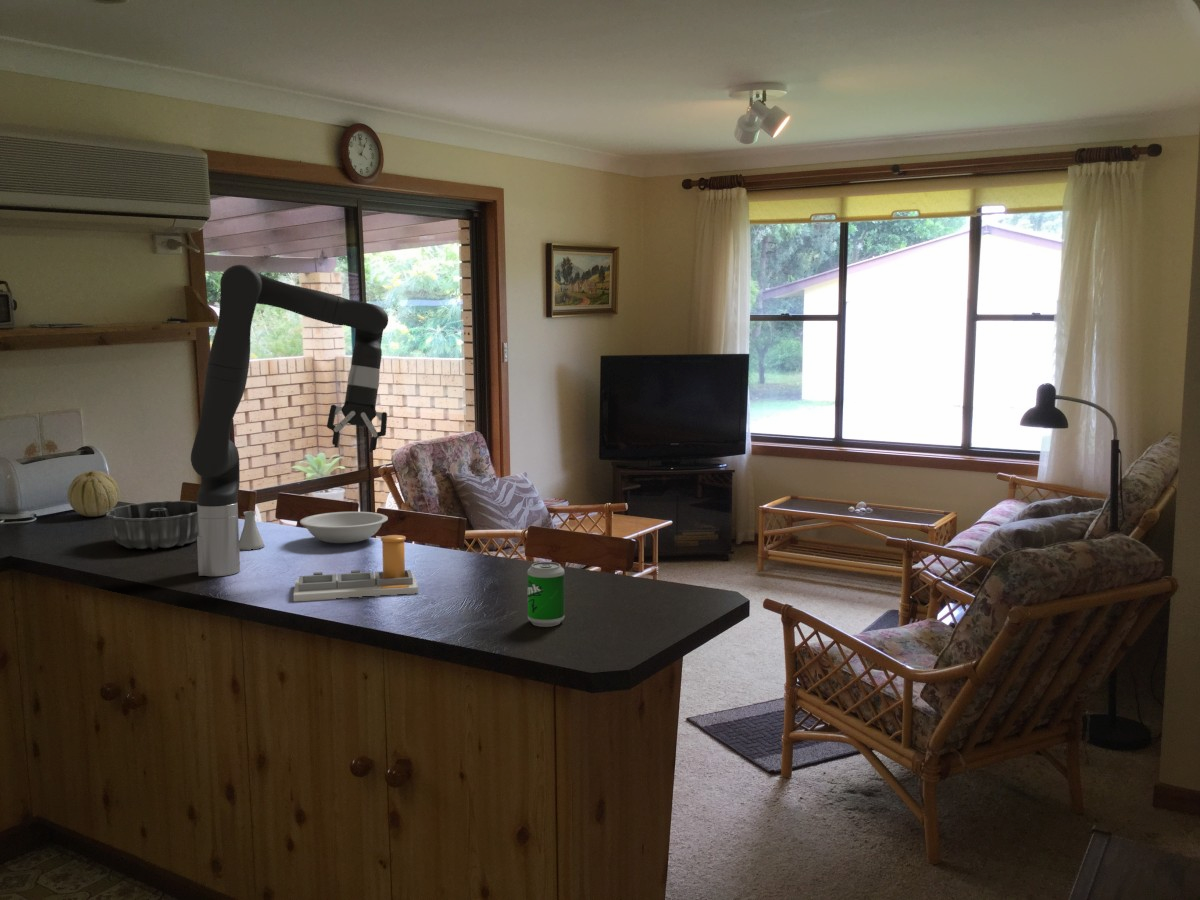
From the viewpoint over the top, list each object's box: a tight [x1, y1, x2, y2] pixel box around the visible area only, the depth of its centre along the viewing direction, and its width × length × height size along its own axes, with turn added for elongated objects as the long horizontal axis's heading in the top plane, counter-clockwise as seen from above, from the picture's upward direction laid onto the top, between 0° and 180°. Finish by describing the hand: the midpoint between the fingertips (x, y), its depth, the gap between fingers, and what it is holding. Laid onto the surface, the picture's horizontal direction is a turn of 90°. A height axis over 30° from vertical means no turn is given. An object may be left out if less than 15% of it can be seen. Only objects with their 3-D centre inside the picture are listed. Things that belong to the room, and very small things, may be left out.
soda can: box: [526, 561, 566, 628], centre depth 201 cm, size 8×8×12 cm
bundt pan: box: [105, 500, 198, 551], centre depth 275 cm, size 26×26×10 cm
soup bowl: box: [299, 511, 389, 544], centre depth 279 cm, size 24×24×7 cm
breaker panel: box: [293, 569, 419, 602], centre depth 227 cm, size 27×14×3 cm, turn 105°
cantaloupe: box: [67, 470, 120, 518], centre depth 315 cm, size 15×15×15 cm
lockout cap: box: [380, 534, 407, 579], centre depth 228 cm, size 6×6×10 cm
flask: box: [239, 510, 265, 551], centre depth 270 cm, size 7×7×10 cm
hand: (353, 449), depth 246 cm, fingers open, 8 cm apart
